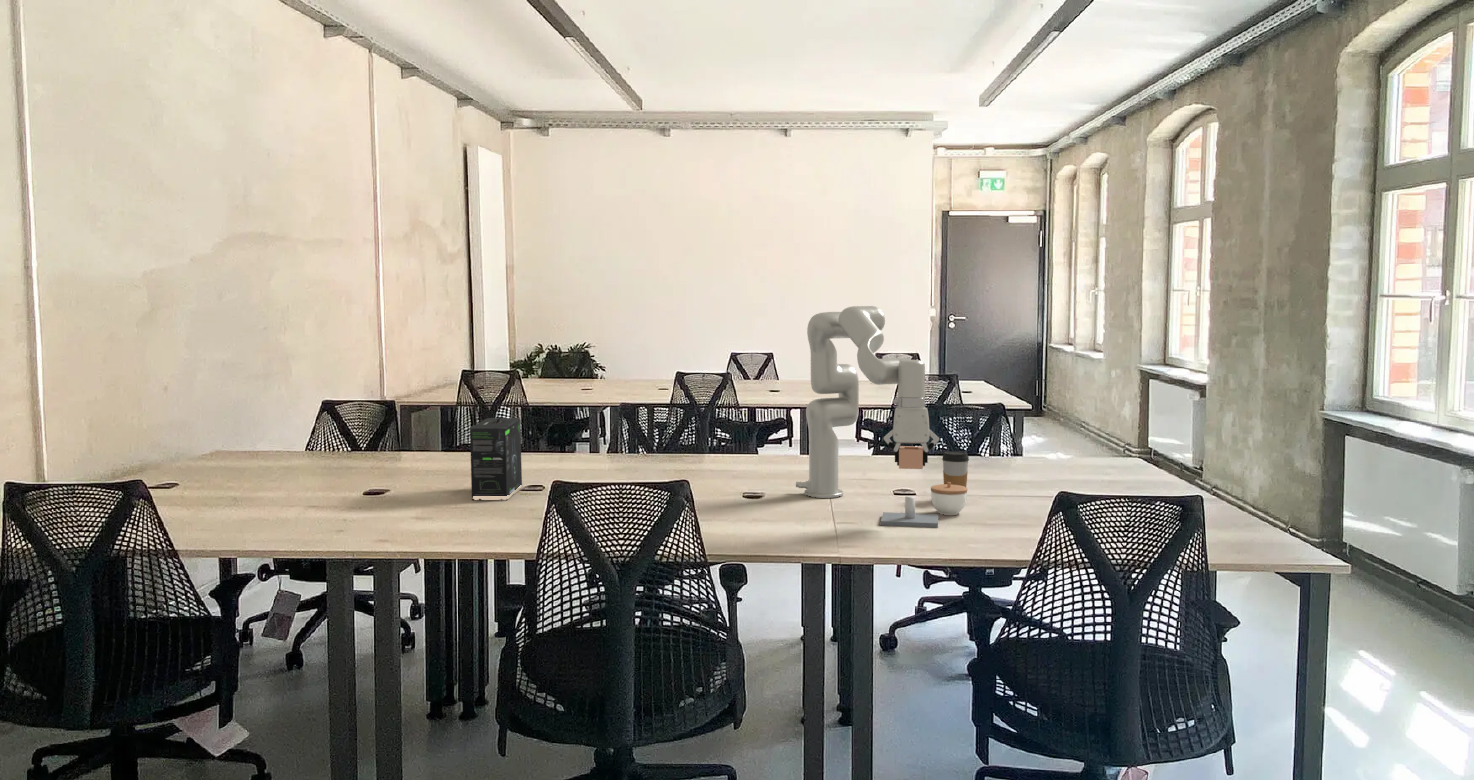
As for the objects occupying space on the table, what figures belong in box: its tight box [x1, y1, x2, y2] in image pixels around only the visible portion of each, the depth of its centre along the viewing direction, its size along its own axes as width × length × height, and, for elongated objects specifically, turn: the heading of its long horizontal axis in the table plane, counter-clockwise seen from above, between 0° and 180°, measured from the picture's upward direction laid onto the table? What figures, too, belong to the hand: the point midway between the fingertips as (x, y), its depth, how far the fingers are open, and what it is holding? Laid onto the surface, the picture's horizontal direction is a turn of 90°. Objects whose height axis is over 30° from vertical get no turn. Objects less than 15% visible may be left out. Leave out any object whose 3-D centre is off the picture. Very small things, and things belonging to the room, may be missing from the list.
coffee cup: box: [941, 450, 970, 488], centre depth 336 cm, size 8×8×15 cm
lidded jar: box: [930, 482, 968, 516], centre depth 316 cm, size 11×11×9 cm
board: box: [880, 495, 939, 528], centre depth 305 cm, size 16×12×7 cm
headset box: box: [469, 415, 523, 497], centre depth 347 cm, size 22×12×26 cm, turn 179°
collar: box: [898, 445, 924, 470], centre depth 303 cm, size 7×7×6 cm
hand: (911, 464), depth 303 cm, fingers closed on collar, 6 cm apart
